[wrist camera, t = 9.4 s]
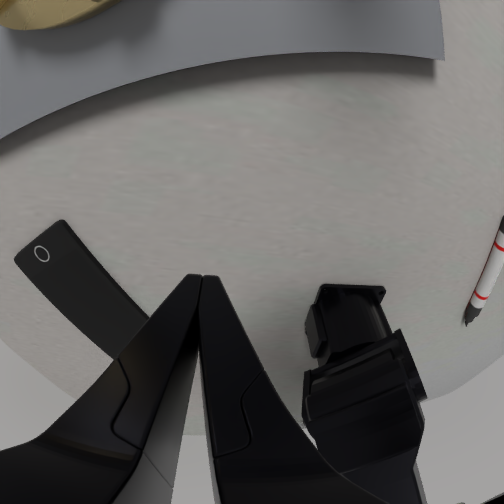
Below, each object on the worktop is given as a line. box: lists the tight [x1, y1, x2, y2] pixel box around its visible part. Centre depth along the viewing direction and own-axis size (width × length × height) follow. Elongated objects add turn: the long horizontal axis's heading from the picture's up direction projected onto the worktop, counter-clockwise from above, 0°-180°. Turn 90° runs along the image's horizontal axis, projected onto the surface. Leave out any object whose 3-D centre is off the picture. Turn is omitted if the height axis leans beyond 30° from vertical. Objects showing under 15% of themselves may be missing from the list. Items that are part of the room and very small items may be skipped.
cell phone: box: [14, 220, 149, 359], centre depth 27 cm, size 9×18×1 cm, turn 25°
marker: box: [465, 216, 504, 326], centre depth 26 cm, size 15×2×2 cm, turn 5°
